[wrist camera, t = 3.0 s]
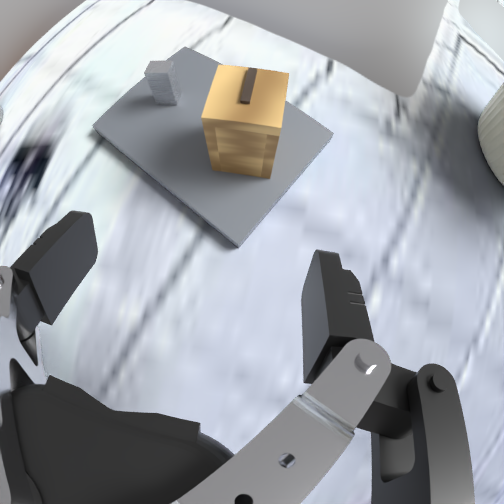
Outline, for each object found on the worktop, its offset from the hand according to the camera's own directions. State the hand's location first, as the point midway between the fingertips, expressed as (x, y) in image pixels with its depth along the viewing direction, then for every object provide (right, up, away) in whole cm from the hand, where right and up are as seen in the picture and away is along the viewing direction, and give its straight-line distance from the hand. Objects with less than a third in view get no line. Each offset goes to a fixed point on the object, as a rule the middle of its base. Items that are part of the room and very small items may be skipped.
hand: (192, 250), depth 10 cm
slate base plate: (-2, +12, +17) cm, 21 cm away
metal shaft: (-6, +15, +16) cm, 23 cm away
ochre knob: (+1, +9, +15) cm, 18 cm away
